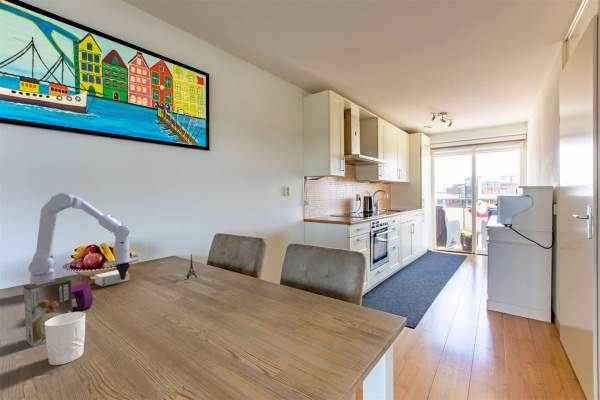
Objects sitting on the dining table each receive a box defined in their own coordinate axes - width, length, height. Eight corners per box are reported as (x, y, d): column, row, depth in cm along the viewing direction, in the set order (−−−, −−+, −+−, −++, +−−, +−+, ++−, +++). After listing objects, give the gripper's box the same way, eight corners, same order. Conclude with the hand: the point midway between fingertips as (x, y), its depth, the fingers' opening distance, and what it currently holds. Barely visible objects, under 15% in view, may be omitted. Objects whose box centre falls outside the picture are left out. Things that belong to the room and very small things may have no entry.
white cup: (62, 349, 72) (61, 312, 72) (93, 347, 73) (92, 311, 73) (36, 368, 65) (35, 326, 64) (71, 366, 65) (70, 324, 65)
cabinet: (94, 283, 128) (94, 274, 128) (120, 277, 137) (120, 269, 137) (102, 286, 124) (102, 277, 124) (128, 279, 133) (128, 271, 133)
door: (101, 286, 124) (101, 278, 123) (128, 280, 132) (128, 272, 132) (102, 286, 123) (102, 278, 123) (129, 280, 131) (129, 272, 131)
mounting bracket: (44, 326, 99) (61, 314, 90) (40, 303, 100) (56, 289, 92) (76, 315, 107) (94, 304, 98) (71, 295, 108) (89, 282, 100)
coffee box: (65, 327, 85) (64, 276, 84) (74, 333, 81) (72, 279, 81) (24, 341, 77) (23, 285, 77) (32, 347, 73) (30, 289, 73)
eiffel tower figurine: (193, 273, 144) (192, 248, 144) (209, 275, 141) (208, 249, 141) (171, 282, 130) (171, 254, 130) (189, 284, 127) (188, 255, 127)
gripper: (108, 254, 119) (109, 285, 120) (142, 249, 132) (143, 276, 132) (101, 252, 123) (102, 282, 124) (135, 247, 135) (135, 274, 136)
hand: (122, 279), depth 128 cm, fingers closed, pressing on door
